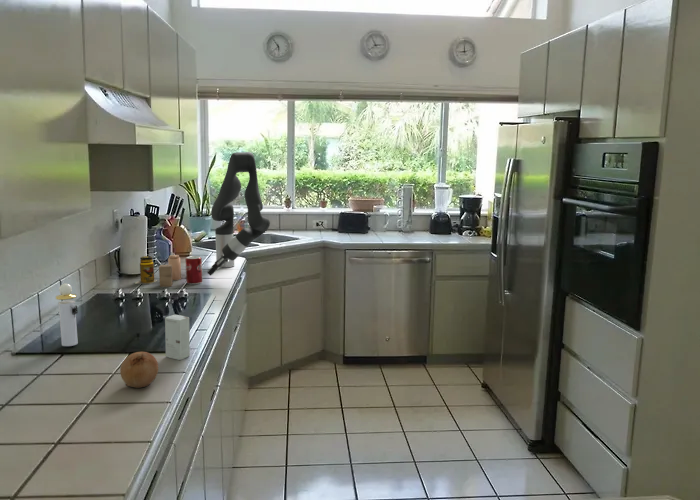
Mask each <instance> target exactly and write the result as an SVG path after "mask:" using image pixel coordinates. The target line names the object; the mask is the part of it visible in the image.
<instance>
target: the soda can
mask: <svg viewBox="0 0 700 500" xmlns="http://www.w3.org/2000/svg"><path fill="white" fill-rule="evenodd" d="M202 259H203V257H201V256H199V255H195V256H194V255H192V256H186V257H185V282H186V284H187V285H200V284H202V283H203V282H204V281H203V280H204V279H203V260H202Z"/></svg>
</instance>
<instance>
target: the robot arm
mask: <svg viewBox="0 0 700 500" xmlns="http://www.w3.org/2000/svg"><path fill="white" fill-rule="evenodd" d="M256 164H257V163H256V158H255V155H254V153H253V152H249V151H241V152H240V151H239V152H232V153H231V155H230V157H229V162H228V165H227V170H226V173H225V176H224V179H223V181H222V183H221V187H220V189H219V193H218V195H217V197H216V198H215V201H214V202H213V205H212V207H211V211H210V213H211V214H210V215H211V218H212V220H213V221H216V222H224V223H223V224H222V225H220V226H218V227H216V228H215V231H214V233H215V255H216V256H215V262H214V264H213V265H211V268H210V269H209V270H208V271H207V274H208V275H209V276H212V275H214V273H215V272H216V271H218V270H219V269H221V268H231V267H235V260H236V259H237V258H238V257H239V256H240V255H241V254H242V253H243V252H244V251H245V250H246V248H248V246H249V245H250V244H252V242H253V241H255V239H257V238H259V237H261V236H262V235H263V234H265V233H266V232H267V231H268V230H269V228H270V225H271V221H270V219H269V218H268V217H266V216H263V215H262V210H263V207H264V205H263V201H262V198H261V193H260V189H259V188H260V187H259V182H258V181H259V180H258V172H257V165H256ZM238 173H248V176H249V178H248V179H249V180H248V183H247V185H246V188H245V190H244V200H245V204H246V208H247V222H248V225H249V227H244V228H242V229H241V230H239V232H238V233H237V234H235V235H234V221H235V219H234V217H235V213H234V212H235V211H234V210H235V209H234V205H233V204H232V202H233V201H235V200H236V199H237V198H238V197H239V195H240V191H241V189H242V183H241V180H240V179H239V177H238V176H237V174H238Z"/></svg>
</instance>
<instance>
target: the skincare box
mask: <svg viewBox="0 0 700 500" xmlns="http://www.w3.org/2000/svg"><path fill="white" fill-rule="evenodd" d="M164 326H165V327H164V330H165V331H164V333H165V334H164V335H165V339H164V340H165V357H166V358H170V359H174V360H178V361H180V360H184V359H186V358H188V357H190V355H191V353H190V351H191V350H190V347H191V346H190V341H191V339H190V317H189V316H185V315H180V314H179V315H178V314H172V315H169V316H166V317H164Z"/></svg>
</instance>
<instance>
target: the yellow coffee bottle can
mask: <svg viewBox="0 0 700 500" xmlns="http://www.w3.org/2000/svg"><path fill="white" fill-rule="evenodd" d="M139 271H140V272H139V273H140V280H138V281H136V282H135V284H140V285H141V284H143V285H144V284H145V285H152V284H153V283H156V282H157V281H158V280H157V279H156V280H155V265H154V262H153V256H151V255H146V256H145V255H143V256H141V257H140V263H139ZM158 282H159V281H158Z"/></svg>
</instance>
